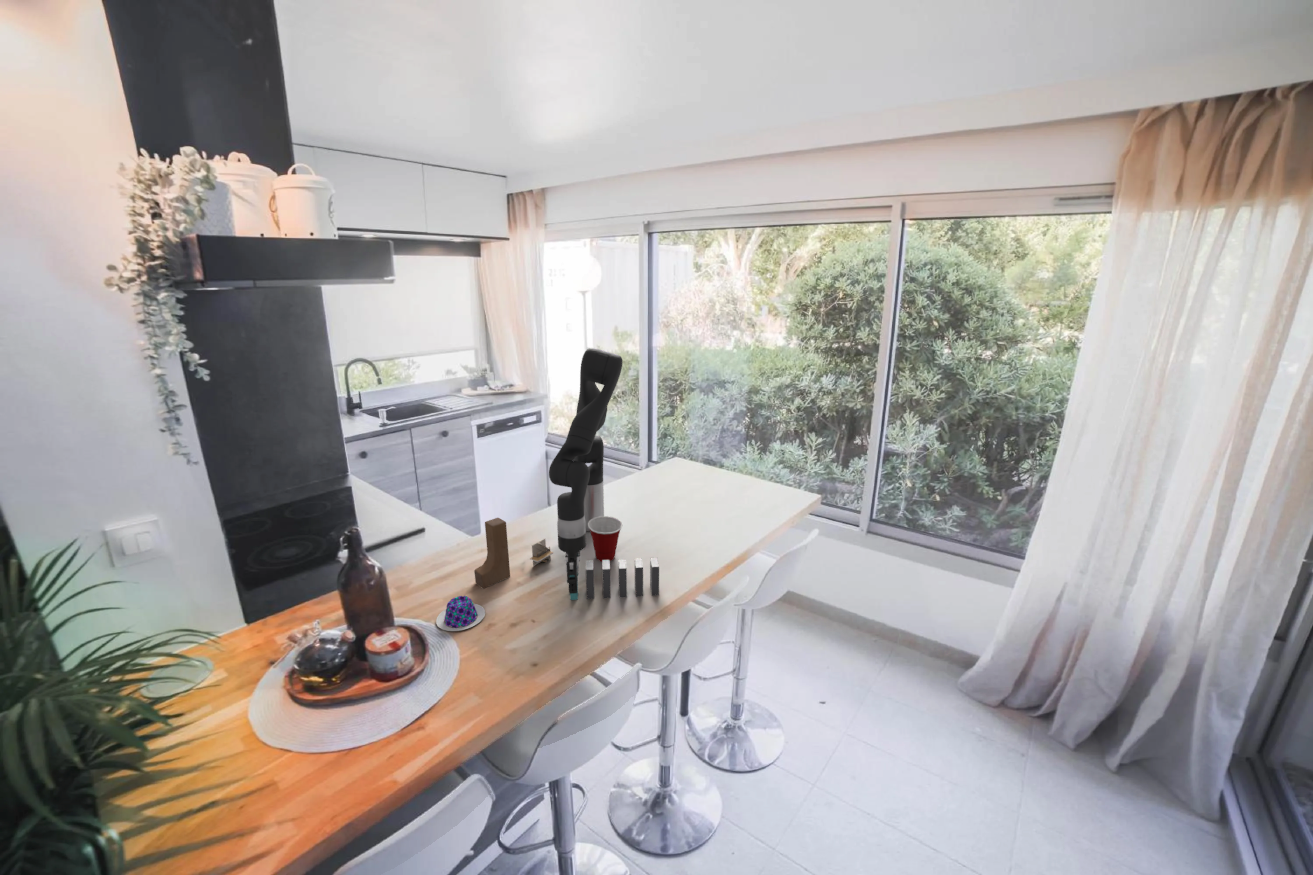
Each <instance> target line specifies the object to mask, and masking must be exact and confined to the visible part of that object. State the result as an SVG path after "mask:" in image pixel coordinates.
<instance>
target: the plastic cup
mask: <svg viewBox="0 0 1313 875" xmlns="http://www.w3.org/2000/svg"><path fill="white" fill-rule="evenodd" d="M588 528H589V529H590V531H589V532H590V534H591V535H590V536H591V541H592V544H593V549H594V553H595V557H596V560H597V561H598V562H601V563H602V560H610V562H611V561H613V560H614V559H615V556H616V552H617V546H618V541H619V536H620V533H621V532H620V531H621V530H622V528H623V522H622V521H621V520H620V519H618V518H616V517H613V516H608V515H607V516H605V515H604V516H601V517H596V518H593V519H591V520H590V521H589V522H588Z"/></svg>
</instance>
